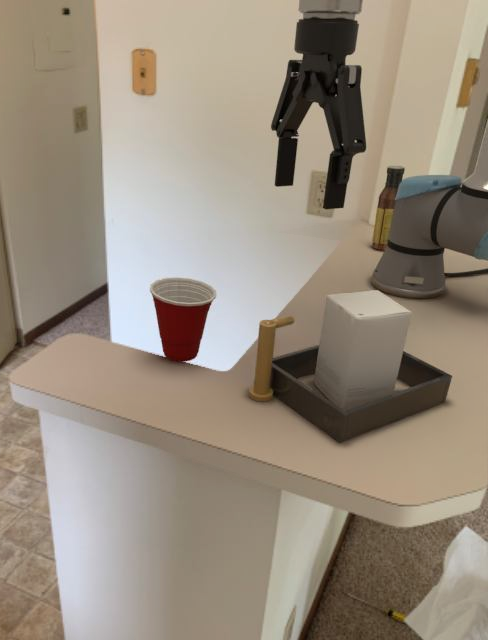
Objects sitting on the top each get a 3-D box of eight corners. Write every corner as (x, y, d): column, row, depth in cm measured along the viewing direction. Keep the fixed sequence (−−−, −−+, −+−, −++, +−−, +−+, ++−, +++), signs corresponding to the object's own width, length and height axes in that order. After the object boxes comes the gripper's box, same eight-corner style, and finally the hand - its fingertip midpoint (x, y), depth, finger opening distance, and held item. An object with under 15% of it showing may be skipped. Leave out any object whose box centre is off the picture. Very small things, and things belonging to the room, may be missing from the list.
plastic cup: (207, 373, 98) (210, 303, 92) (142, 365, 100) (141, 296, 94) (218, 344, 107) (222, 279, 101) (158, 337, 109) (158, 273, 103)
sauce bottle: (400, 248, 157) (417, 167, 147) (388, 253, 153) (404, 170, 143) (377, 242, 161) (392, 163, 150) (365, 247, 157) (379, 166, 147)
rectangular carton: (393, 405, 91) (415, 312, 83) (339, 413, 89) (356, 318, 81) (362, 376, 98) (379, 288, 91) (311, 383, 96) (325, 293, 88)
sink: (360, 355, 105) (373, 287, 98) (445, 401, 92) (466, 327, 86) (242, 391, 94) (248, 317, 87) (320, 450, 81) (333, 369, 74)
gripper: (255, 16, 83) (244, 179, 94) (361, 15, 63) (331, 221, 74) (303, 18, 85) (287, 176, 96) (420, 17, 66) (383, 217, 77)
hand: (306, 196), depth 85 cm, fingers open, 13 cm apart
